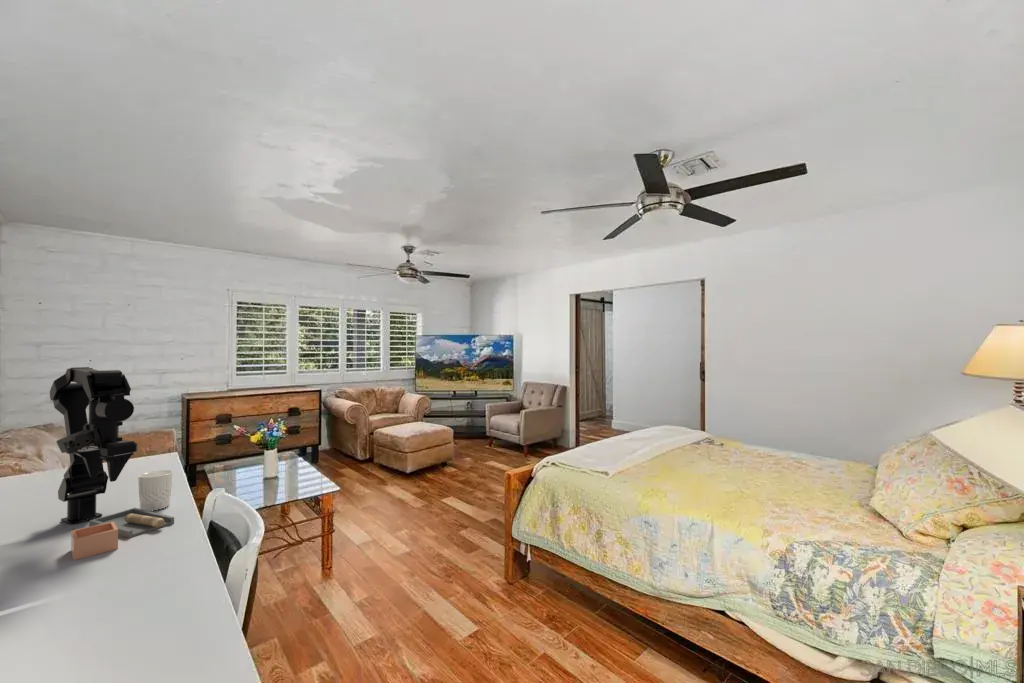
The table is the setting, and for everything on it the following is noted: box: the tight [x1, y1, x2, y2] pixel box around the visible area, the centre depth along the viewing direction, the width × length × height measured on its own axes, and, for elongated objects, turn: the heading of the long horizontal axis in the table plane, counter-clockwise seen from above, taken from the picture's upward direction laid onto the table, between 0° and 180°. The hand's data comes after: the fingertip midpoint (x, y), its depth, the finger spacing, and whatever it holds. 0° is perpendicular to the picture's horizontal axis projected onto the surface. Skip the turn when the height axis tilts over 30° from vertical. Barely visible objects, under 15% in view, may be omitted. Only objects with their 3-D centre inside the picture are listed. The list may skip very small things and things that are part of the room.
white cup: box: [137, 469, 173, 512], centre depth 129 cm, size 8×8×10 cm
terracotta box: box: [70, 521, 119, 561], centre depth 100 cm, size 7×7×5 cm
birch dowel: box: [125, 513, 164, 527], centre depth 113 cm, size 6×2×12 cm
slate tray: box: [88, 507, 175, 539], centre depth 114 cm, size 18×10×2 cm, turn 67°
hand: (103, 479), depth 113 cm, fingers open, 9 cm apart
